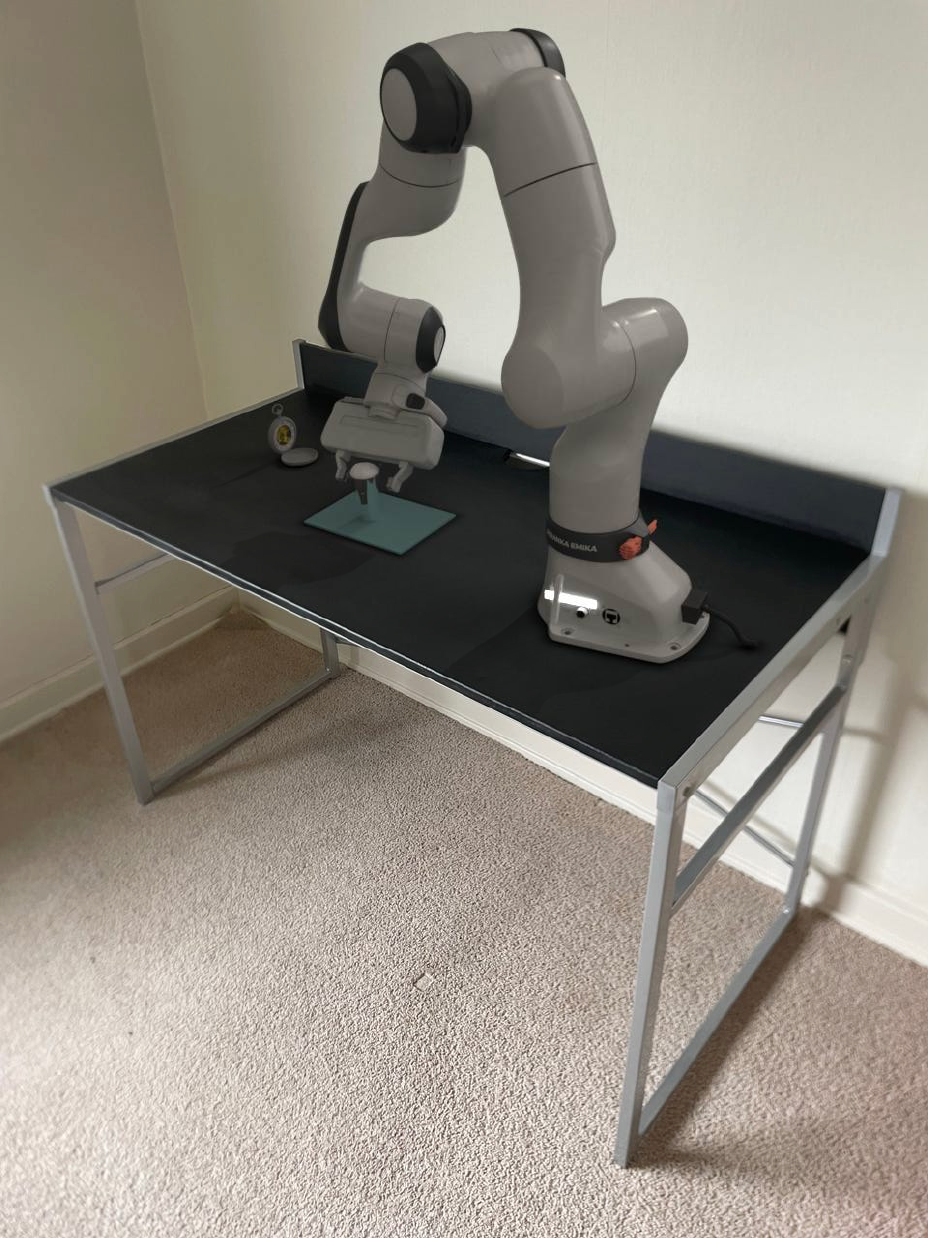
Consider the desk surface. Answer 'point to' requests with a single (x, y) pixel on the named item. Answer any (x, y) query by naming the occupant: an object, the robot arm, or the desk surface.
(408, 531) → the mouse pad
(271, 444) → the pocket watch
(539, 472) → the desk surface
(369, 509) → the milkshake
